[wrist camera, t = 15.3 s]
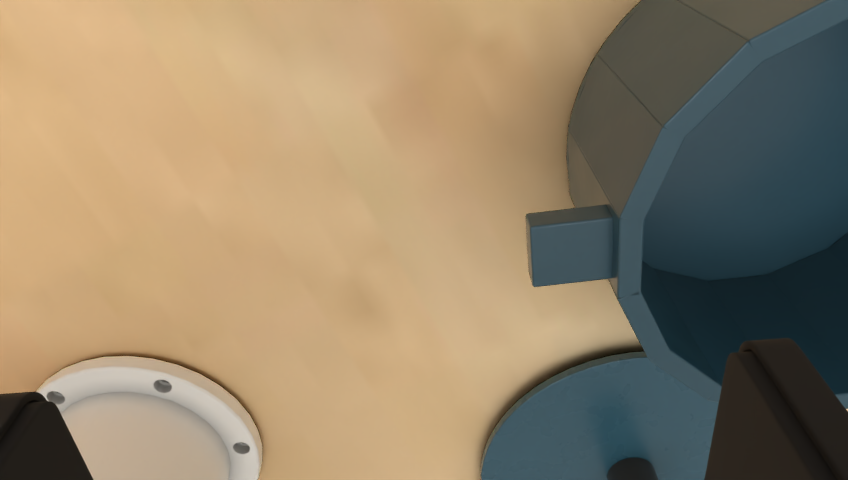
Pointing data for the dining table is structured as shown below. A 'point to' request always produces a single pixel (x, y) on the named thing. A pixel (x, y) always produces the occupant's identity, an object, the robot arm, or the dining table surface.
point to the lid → (604, 426)
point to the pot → (713, 183)
